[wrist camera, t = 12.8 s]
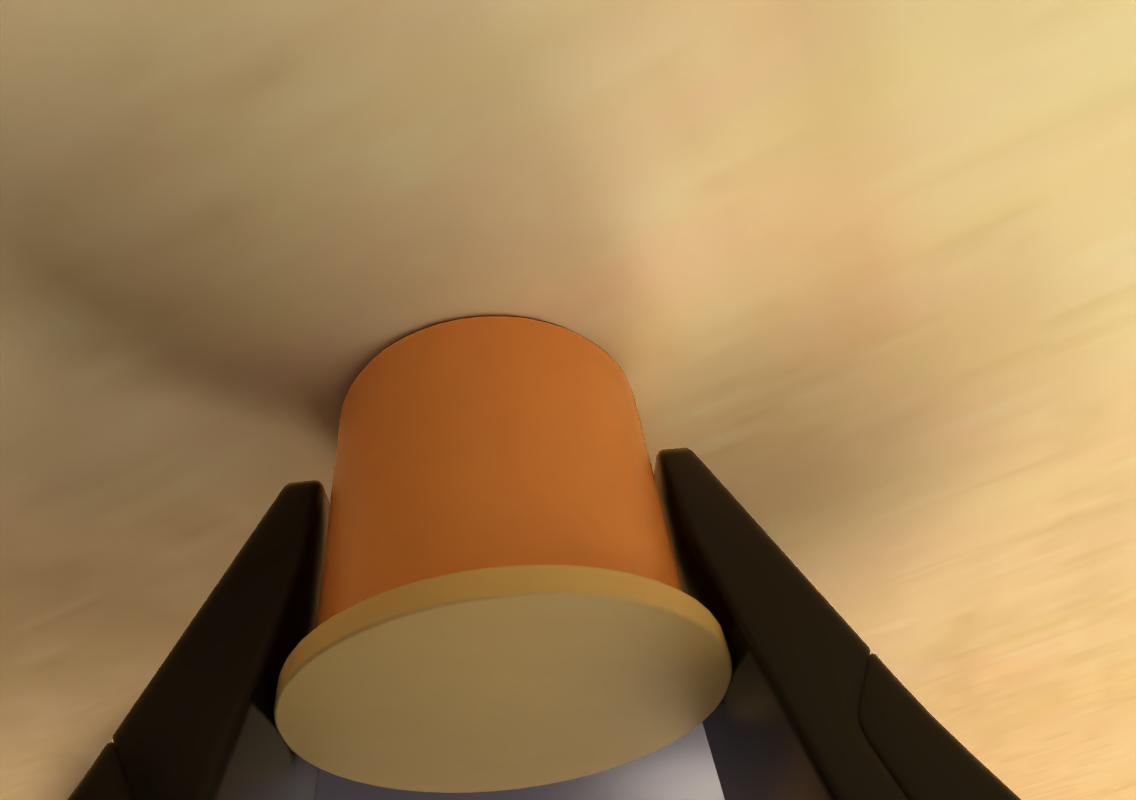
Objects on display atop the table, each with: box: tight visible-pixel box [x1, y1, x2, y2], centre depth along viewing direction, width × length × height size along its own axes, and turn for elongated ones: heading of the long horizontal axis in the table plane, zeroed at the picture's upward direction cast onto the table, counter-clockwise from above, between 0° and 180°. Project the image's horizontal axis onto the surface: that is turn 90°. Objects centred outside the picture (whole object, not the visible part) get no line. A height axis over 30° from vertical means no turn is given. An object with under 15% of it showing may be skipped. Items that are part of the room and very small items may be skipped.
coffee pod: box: [274, 316, 732, 793], centre depth 9 cm, size 5×5×4 cm
